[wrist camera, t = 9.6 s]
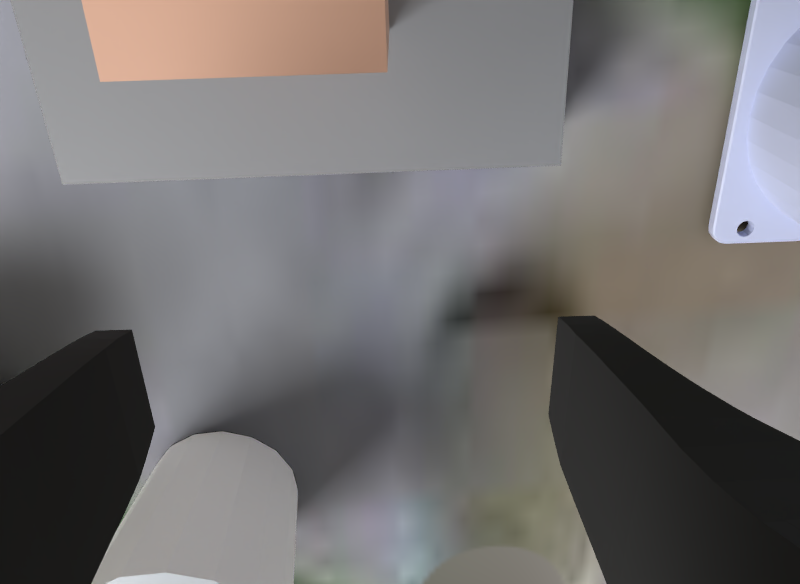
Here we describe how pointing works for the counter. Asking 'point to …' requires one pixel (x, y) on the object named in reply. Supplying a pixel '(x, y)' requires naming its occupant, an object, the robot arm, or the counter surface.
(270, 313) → the counter surface
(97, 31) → the terracotta block
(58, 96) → the plinth
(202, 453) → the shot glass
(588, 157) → the counter surface
